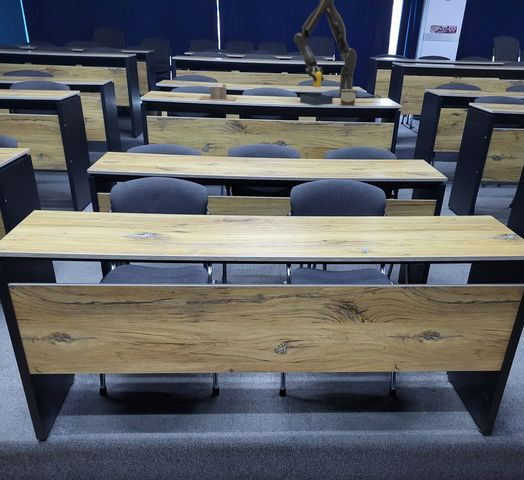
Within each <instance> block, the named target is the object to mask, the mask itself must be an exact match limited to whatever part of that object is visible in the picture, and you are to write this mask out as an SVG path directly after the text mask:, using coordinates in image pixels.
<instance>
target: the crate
mask: <svg viewBox="0 0 524 480" xmlns="http://www.w3.org/2000/svg"><path fill="white" fill-rule="evenodd" d="M299 99H300V101H299V102H300V103H303V104H307V105H311V106H319V105H320V106H321V105H329V104H330V105H331V104H333V101H334V95H327V94H323V93H320V92H312V93H301V94H300V97H299Z"/></svg>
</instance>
